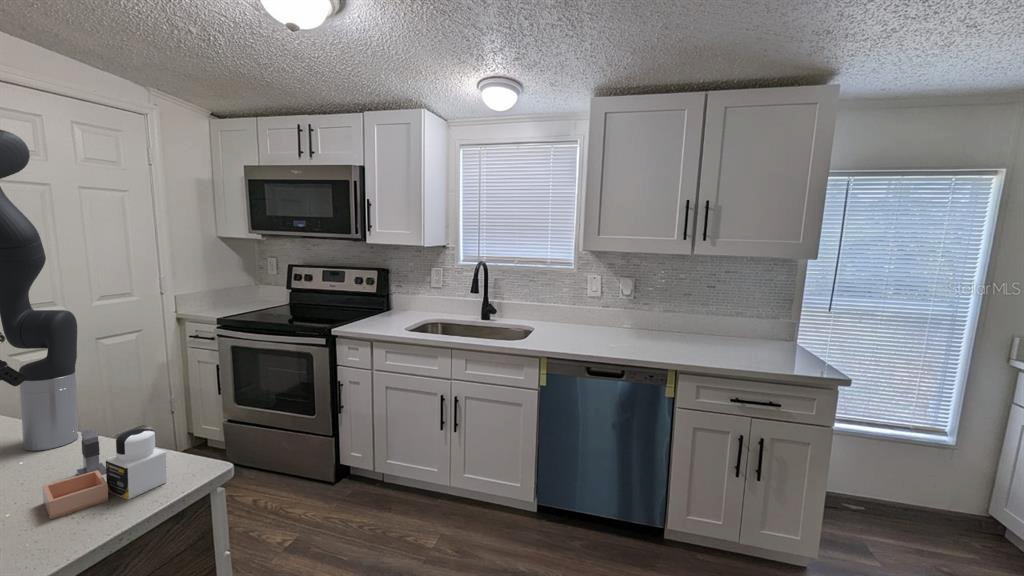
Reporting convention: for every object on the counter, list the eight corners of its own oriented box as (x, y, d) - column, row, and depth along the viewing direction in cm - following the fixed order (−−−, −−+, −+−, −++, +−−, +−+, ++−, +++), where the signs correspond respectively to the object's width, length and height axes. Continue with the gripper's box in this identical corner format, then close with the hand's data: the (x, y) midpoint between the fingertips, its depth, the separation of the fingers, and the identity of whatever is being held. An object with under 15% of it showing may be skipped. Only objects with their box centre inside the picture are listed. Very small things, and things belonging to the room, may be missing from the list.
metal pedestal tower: (76, 474, 92) (74, 432, 91) (102, 466, 95) (100, 426, 94) (80, 480, 89) (78, 438, 88) (106, 473, 93) (104, 432, 92)
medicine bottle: (106, 491, 86) (103, 436, 85) (146, 474, 93) (144, 422, 92) (127, 500, 84) (125, 443, 83) (167, 482, 90) (166, 429, 89)
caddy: (43, 503, 82) (42, 486, 81) (98, 485, 88) (98, 469, 88) (50, 519, 77) (49, 502, 77) (108, 500, 83) (107, 483, 83)
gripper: (-47, 310, 71) (48, 368, 81) (-67, 306, 77) (22, 360, 87) (-104, 344, 66) (4, 401, 76) (-121, 336, 73) (-19, 390, 83)
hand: (14, 379), depth 82 cm, fingers open, 8 cm apart
